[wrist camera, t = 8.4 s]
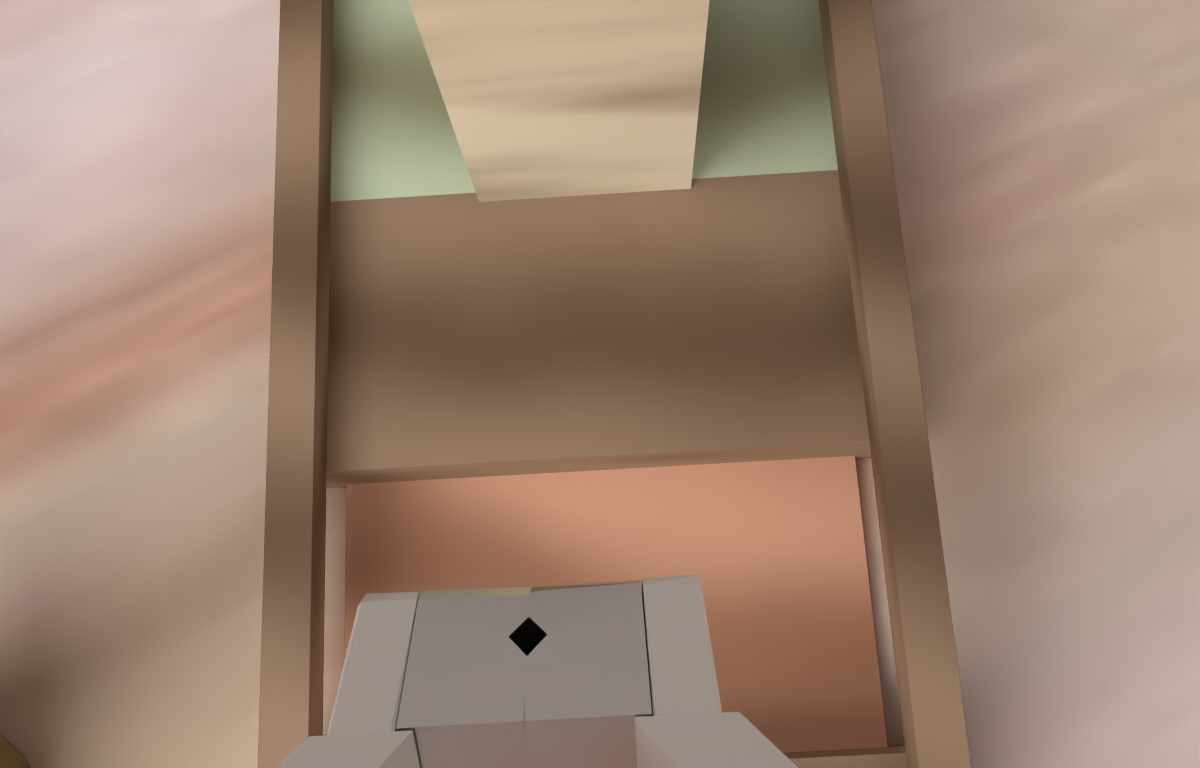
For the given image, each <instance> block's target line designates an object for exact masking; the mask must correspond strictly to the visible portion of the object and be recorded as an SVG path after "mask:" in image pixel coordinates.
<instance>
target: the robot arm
mask: <svg viewBox="0 0 1200 768" xmlns="http://www.w3.org/2000/svg"><path fill="white" fill-rule="evenodd" d="M277 768H798V767H797V766H796V765H795V764H794V763H793V762H792V761H791V760H790V759H789V758H788V757H786V756H785V755H784V754H783V753H782V752H781V751H780V750H779V749H778V748H777V747H776V746H775V745H774V744H773V743H772V742H771V741H770V740H769V739H768V738H766V737H765V736H764V735H763V734H762V733H761V732H760V731H759V730H758V729H757V728H756V727H755V726H754V725H753V724H752V723H751V722H750V721H749V720H748V719H746V718H745V717H744V716H743V715H742V714H741V713H740V712H723V713H722V708H721V702H720V696H719V690H718V684H717V677H716V671H715V665H714V659H713V653H712V646H711V640H710V634H709V628H708V622H707V616H706V609H705V603H704V597H703V591H702V585H701V581H700V579H699V578H698V577H697V575H696V574H695V575H682V576H669V577H657V578H644V579H642V584H641V582H640V580H630V581H615V582H599V583H584V584H568V585H553V586H537V587H513V588H484V589H456V590H427V591H422V592H400V593H371V594H366V595H365V596H364V598H363V599H362V601H361V602H360V604H359V605H358V608H357V612H356V616H355V620H354V624H353V628H352V632H351V636H350V640H349V644H348V649H347V653H346V657H345V661H344V665H343V669H342V673H341V677H340V681H339V685H338V689H337V694H336V698H335V702H334V706H333V710H332V714H331V718H330V722H329V726H328V730H327V734H326V735H322V736H309V737H308V738H307V739H306V740H305V741H304V742H303V743H302V744H301V745H300V746H299V747H297V748H296V749H295V750H294V751H293V752H292V753H291V754H290V755H289V756H288V757H287V758H286V759H285V760H284V761H283V762H282V763H281V764H280V765H279V766H278V767H277Z"/></svg>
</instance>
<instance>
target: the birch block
mask: <svg viewBox="0 0 1200 768" xmlns="http://www.w3.org/2000/svg"><path fill="white" fill-rule="evenodd" d="M409 3H410V6H411V9H412V12H413V15H414V17H415V20H416V23H417V26H418V29H419V32H420V35H421V37H422V40H423V43H424V46H425V49H426V52H427V55H428V58H429V60H430V63H431V66H432V69H433V72H434V75H435V78H436V80H437V83H438V86H439V89H440V92H441V95H442V98H443V101H444V103H445V106H446V109H447V112H448V115H449V118H450V121H451V123H452V126H453V129H454V132H455V135H456V138H457V141H458V144H459V146H460V149H461V152H462V155H463V158H464V161H465V164H466V166H467V169H468V172H469V175H470V178H471V181H472V184H473V186H474V189H475V192H476V195H477V198H478V201H479V202H486V201H502V200H518V199H534V198H550V197H566V196H581V195H597V194H613V193H629V192H645V191H661V190H677V189H691V182H692V172H693V162H694V152H695V142H696V131H697V121H698V111H699V101H700V91H701V81H702V71H703V61H704V51H705V40H706V30H707V20H708V10H709V0H409Z"/></svg>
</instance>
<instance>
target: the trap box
mask: <svg viewBox="0 0 1200 768" xmlns="http://www.w3.org/2000/svg"><path fill="white" fill-rule="evenodd" d="M866 457H871V459H872V467H873V476H874V484H875V493H876V501H877V510H878V519H879V527H880V536H881V544H882V553H883V562H884V570H885V579H886V587H887V596H888V605H889V613H890V622H891V630H892V639H893V648H894V656H895V665H896V673H897V682H898V691H899V699H900V708H901V716H902V725H903V734H904V742H905V746H887V737H886V728H885V720H884V711H883V702H882V693H881V684H880V675H879V666H878V657H877V648H876V639H875V631H874V622H873V613H872V604H871V595H870V586H869V577H868V568H867V559H866V550H865V542H864V533H863V524H862V515H861V506H860V497H859V488H858V479H857V470H856V461H855V458H866ZM333 487H347V494H346V592H345V657H346V653H347V649H348V644H349V640H350V636H351V632H352V628H353V624H354V620H355V616H356V612H357V608H358V605H359V604H360V602H361V601H362V599H363V598H364V596H365V595H366V594H371V593H400V592H422V591H427V590H456V589H484V588H513V587H537V586H553V585H568V584H584V583H599V582H615V581H630V580H640V582H641V584H642V579H644V578H657V577H669V576H682V575H695V574H696V575H697V577H698V578H699V579H700V581H701V585H702V591H703V597H704V603H705V609H706V616H707V622H708V628H709V634H710V640H711V646H712V653H713V659H714V665H715V671H716V677H717V684H718V690H719V696H720V702H721V708H722V713H723V712H740V713H741V714H742V715H743V716H744V717H745V718H746V719H748V720H749V721H750V722H751V723H752V724H753V725H754V726H755V727H756V728H757V729H758V730H759V731H760V732H761V733H762V734H763V735H764V736H765V737H766V738H768V739H769V740H770V741H771V742H772V743H773V744H774V745H775V746H776V747H777V748H778V749H779V750H780V751H781V752H782V753H783V754H784V755H785V756H786V757H788V758H789V759H790V760H791V761H792V762H793V763H794V764H795V765H796V766H797V767H798V768H971V763H970V755H969V748H968V740H967V732H966V725H965V717H964V709H963V702H962V694H961V686H960V679H959V671H958V663H957V656H956V648H955V640H954V633H953V625H952V617H951V610H950V602H949V594H948V587H947V579H946V572H945V564H944V556H943V549H942V541H941V533H940V526H939V518H938V510H937V503H936V495H935V487H934V480H933V472H932V464H931V457H930V449H929V441H928V434H927V426H926V418H925V411H924V403H923V395H922V388H921V380H920V372H919V365H918V357H917V349H916V342H915V334H914V327H913V319H912V311H911V304H910V296H909V288H908V281H907V273H906V265H905V258H904V250H903V242H902V235H901V227H900V219H899V212H898V204H897V196H896V189H895V181H894V173H893V166H892V158H891V150H890V143H889V135H888V127H887V120H886V112H885V104H884V97H883V89H882V82H881V74H880V66H879V59H878V51H877V43H876V36H875V28H874V20H873V13H872V5H871V0H709V10H708V20H707V30H706V40H705V51H704V61H703V71H702V81H701V91H700V101H699V111H698V121H697V131H696V142H695V152H694V162H693V172H692V182H691V189H677V190H661V191H645V192H629V193H613V194H597V195H581V196H566V197H550V198H534V199H518V200H502V201H486V202H479V201H478V198H477V195H476V192H475V189H474V186H473V184H472V181H471V178H470V175H469V172H468V169H467V166H466V164H465V161H464V158H463V155H462V152H461V149H460V146H459V144H458V141H457V138H456V135H455V132H454V129H453V126H452V123H451V121H450V118H449V115H448V112H447V109H446V106H445V103H444V101H443V98H442V95H441V92H440V89H439V86H438V83H437V80H436V78H435V75H434V72H433V69H432V66H431V63H430V60H429V58H428V55H427V52H426V49H425V46H424V43H423V40H422V37H421V35H420V32H419V29H418V26H417V23H416V20H415V17H414V15H413V12H412V9H411V6H410V3H409V0H280V32H279V66H278V100H277V134H276V167H275V201H274V235H273V269H272V303H271V337H270V371H269V405H268V439H267V473H266V507H265V541H264V575H263V609H262V643H261V676H260V710H259V744H258V768H277V767H278V766H279V765H280V764H281V763H282V762H283V761H284V760H285V759H286V758H287V757H288V756H289V755H290V754H291V753H292V752H293V751H294V750H295V749H296V748H297V747H299V746H300V745H301V744H302V743H303V742H304V741H305V740H306V739H307V738H308V737H309V736H322V732H323V665H324V599H325V533H326V488H333Z"/></svg>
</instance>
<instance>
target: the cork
mask: <svg viewBox="0 0 1200 768" xmlns="http://www.w3.org/2000/svg"><path fill="white" fill-rule="evenodd" d="M0 768H29V766H28V764H27V762H26V760H25V758H24V756H23V755H22V754H21V753H20V752H18V751H17V750H16V749H15V748H14V747H13V746H12V745H11V744H10V743H9V742H7V741H6V740H5V739H4V738H3V737H2V736H1V735H0Z"/></svg>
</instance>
